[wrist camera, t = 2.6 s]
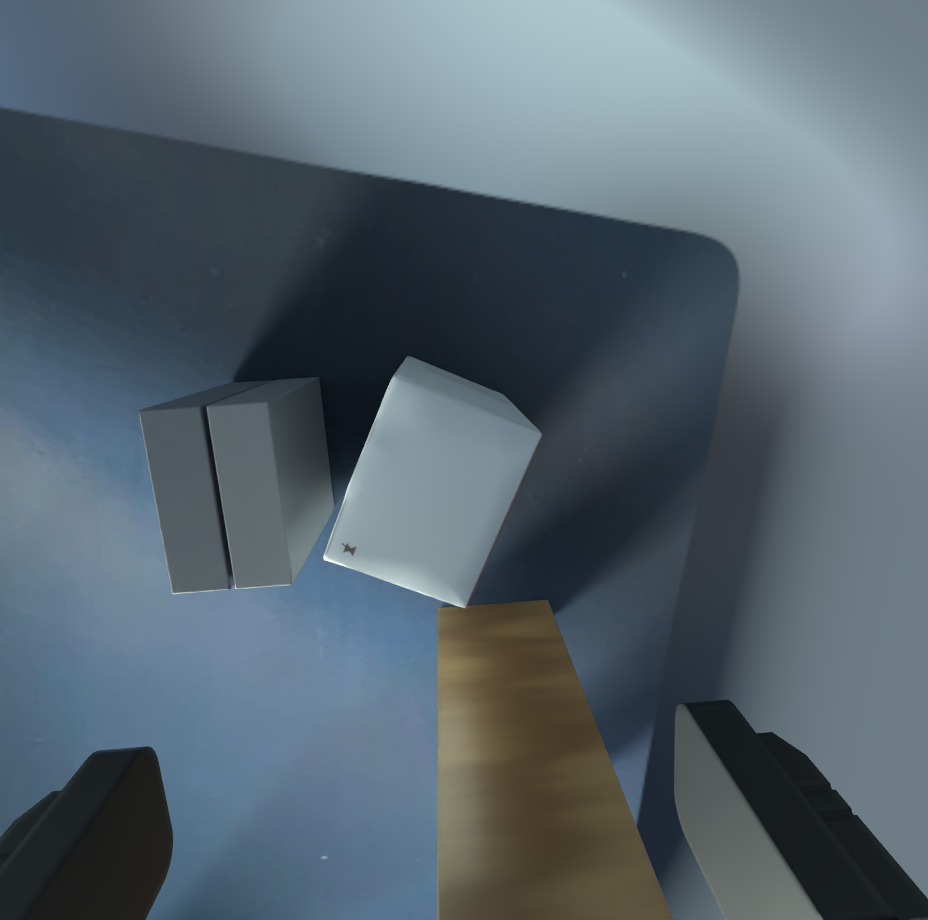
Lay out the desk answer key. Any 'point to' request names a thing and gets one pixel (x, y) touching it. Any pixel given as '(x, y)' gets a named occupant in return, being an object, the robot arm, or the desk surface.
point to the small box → (433, 483)
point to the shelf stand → (528, 780)
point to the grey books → (239, 482)
